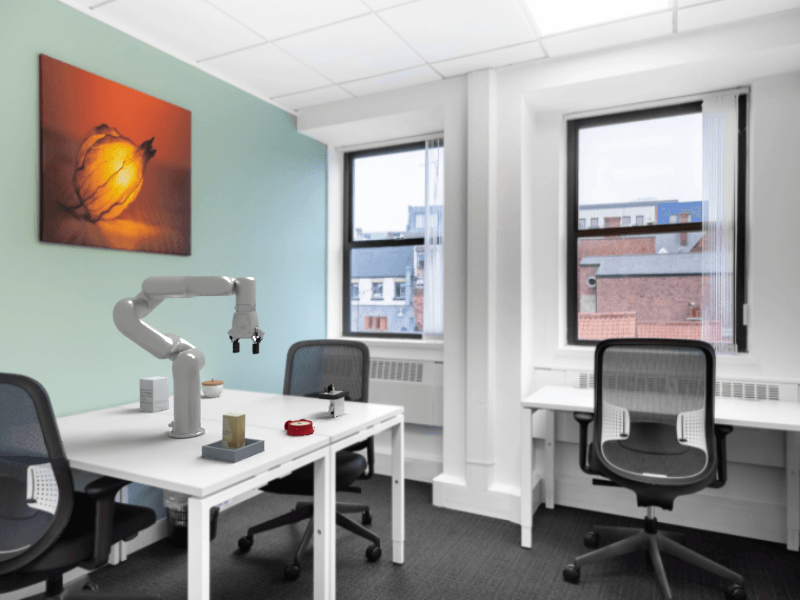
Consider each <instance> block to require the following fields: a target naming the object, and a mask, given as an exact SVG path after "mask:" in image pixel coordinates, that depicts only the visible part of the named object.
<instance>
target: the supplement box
mask: <svg viewBox="0 0 800 600" xmlns="http://www.w3.org/2000/svg"><path fill="white" fill-rule="evenodd" d="M169 388H170V387H169V377H168V376H158V375H156V376H149V377H143V378H139V411H140V412H143V411H146V412H145V413H152V412H154V413H158V412H161V410H162V411H166V410H169V409H170V407H169V406H170V402H169V401H170V400H169V399H170V395H169V394H170V393H169V392H170V390H169ZM165 409H166V410H165ZM157 411H158V412H157Z"/></svg>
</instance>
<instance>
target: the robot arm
mask: <svg viewBox="0 0 800 600" xmlns="http://www.w3.org/2000/svg"><path fill="white" fill-rule="evenodd" d="M256 282H257V281H256V279H255V277H251V276H239V277H231V276H227V275H161V276H160V275H153V276H149V277H146V278H145V279H144V280H142V283H141V286H140V287H141V290H140V292H139V293H137V295H135V296H134V297H133V296H132V297H130V296H129V297H124V298H122V299H119V300H118V301H117V302H116V303H115V304H114V306H113V309H112V321H113V323H114V326H115V328H116V329H117V330H118V332H120V334H122V335H123V336H124V337H126V338H127V339H128V340H130V341H131V342H133V343H134V344H136V345H137V346H139V347H140V348H141V349H143V350H144V351H146V352H147V353H149V354H150V355H152V356H153V357H154V358H156V359H158V360H167V359H168V360H169V361H171V362H172V363H171V373H172V382H173V383H172V387H173V420H171V421H170V422H169V423H168V424H167V427H168V428H172V429H171V431H169V433H168V435H169V436H170V437H171V438H176V439H184V438H185V439H187V438H193V437H194V438H195V437H199V436H202V435H204V434H205V433H206V429H205V428H204V427H201V426H202V423H201V420H202V419H201V416H202V415H201V413H202V410H201V409H202V405H201V404H202V403H201V402H202V401H201V397H202V394H201V393H202V391H201V389H202V385H201V376H200V371H201V370H202V369H203V368H204V367H205V364H206V356H205V354H204V353H203V352H202V351H201V350H200V349H199V348H197V347H196V346H195V345H193V344H191V343H190V342H189V341H187V340H186V339H184V338H183V337H180V336H179V335H178V334H176V333H170V332H168V333H167V332H166V333H164V332H162V331H160V330H159V329H157V328H156V327H154V326H153V325H151V324H150V323H148V322H146V321H144V320H143V318H146V317H147V316H148V315H150V314H151V313H152V312H153V311H154V310H155V309H156V308H157V307H159V305H160V304H162V302H164V301H165V300H166V299H190V298H194V297H195V298H196V297H229V296H235V305H234V308H233V309H234V310H235V312H233V315H232V321H231V329H229V330H227V335H228V336H229V337H228V338H229V340H230V343H231V344H232V354H238V353H240V352H241V349H240V348H241V346H240V345H241V344H240V342H239V341H240V340H241V339H247V340H249V339H250V340H251V341H252V347H251V349H252V351H251V352H252V355H258V354H260V344H261V342H262V341H263V339H264V335H265V331H263V330H261V329H260V324H259V323H260V322H259V316H258V313H257V305H256V303H257V300H256V299H257V294H256V293H257V291H256V289H257V283H256Z"/></svg>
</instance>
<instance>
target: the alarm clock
mask: <svg viewBox="0 0 800 600" xmlns="http://www.w3.org/2000/svg"><path fill="white" fill-rule="evenodd" d="M313 424H314V423H313V421H312V420H309V419H306V418H299V419H297V420H291V419H290V420H287V421H285V423H284V426H283V427H284V431H286V430H287V431H286V435H288V436H293V437H301V436H302V437H304V436H303V435H307V436H308V435H312V434H314V433H315V428H316V427H315V426H313ZM313 432H314V433H313ZM311 433H312V434H311Z"/></svg>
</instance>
